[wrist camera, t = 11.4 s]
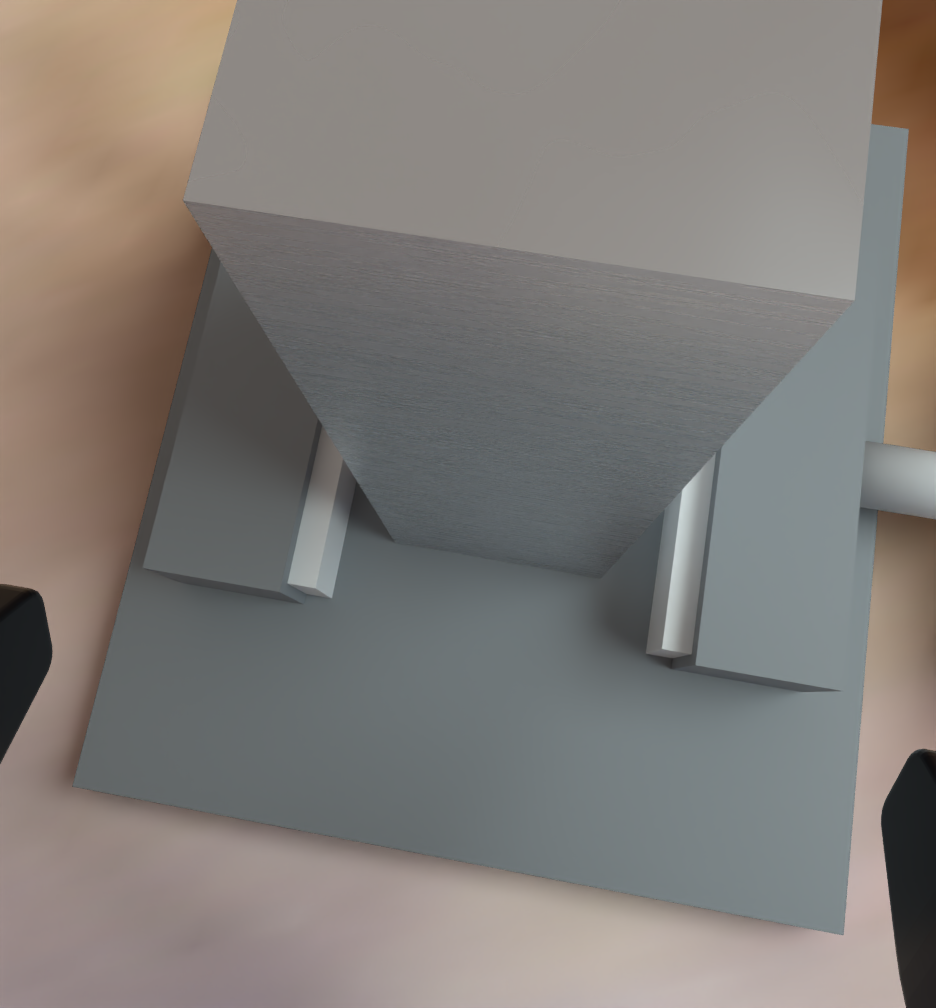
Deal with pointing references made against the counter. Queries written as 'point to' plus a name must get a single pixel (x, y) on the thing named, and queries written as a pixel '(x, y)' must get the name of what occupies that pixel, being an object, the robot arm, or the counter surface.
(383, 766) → the stepped grey baseplate
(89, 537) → the counter surface
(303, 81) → the steel block
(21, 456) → the counter surface
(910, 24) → the counter surface
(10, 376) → the counter surface
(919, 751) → the robot arm
